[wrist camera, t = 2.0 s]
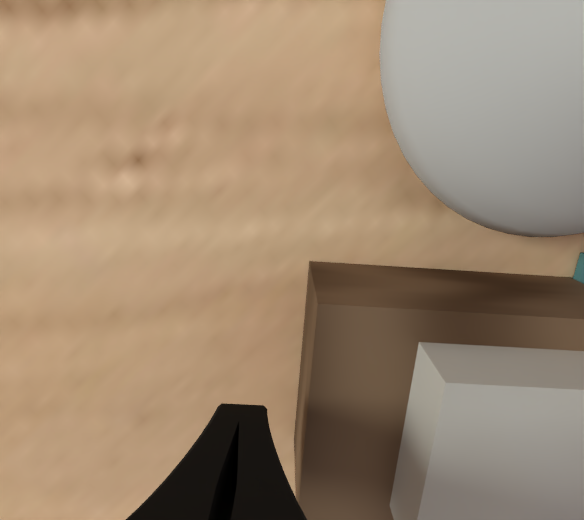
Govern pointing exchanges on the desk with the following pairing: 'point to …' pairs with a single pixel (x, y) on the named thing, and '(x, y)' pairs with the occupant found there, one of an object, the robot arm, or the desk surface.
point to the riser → (398, 364)
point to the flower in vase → (491, 107)
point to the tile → (492, 435)
